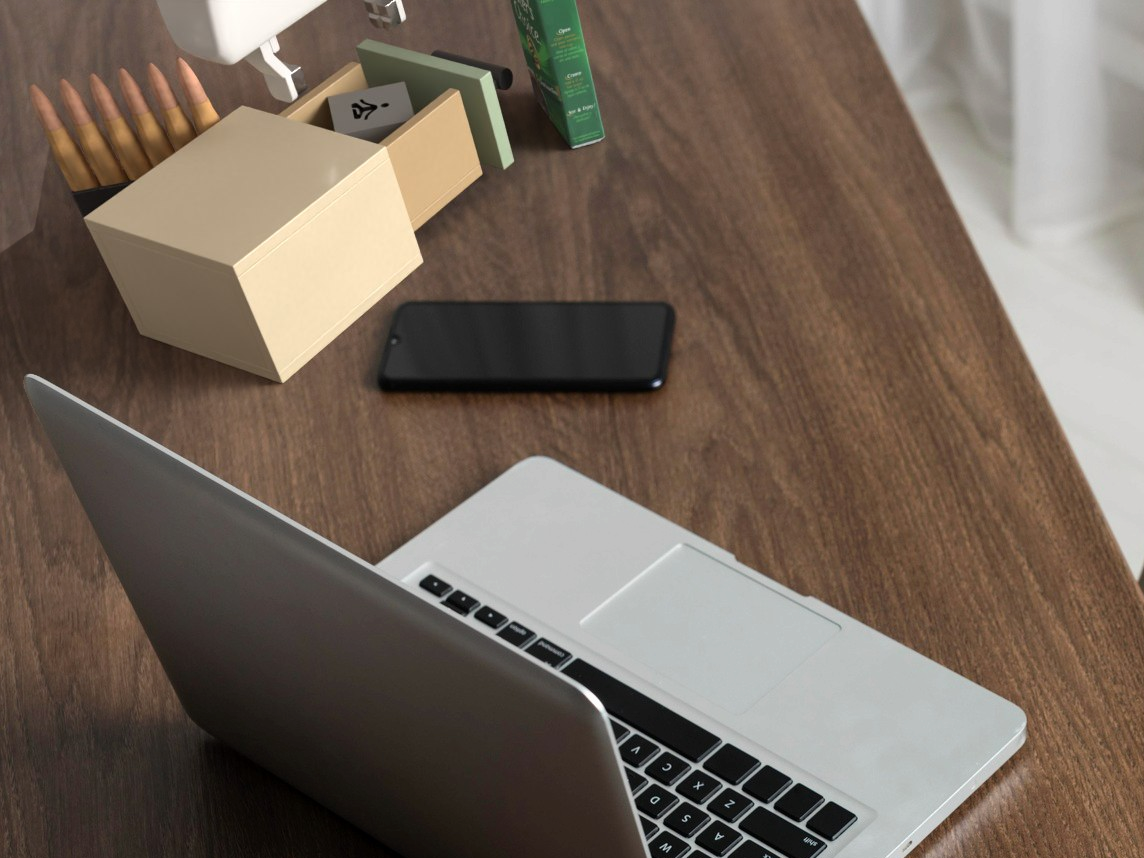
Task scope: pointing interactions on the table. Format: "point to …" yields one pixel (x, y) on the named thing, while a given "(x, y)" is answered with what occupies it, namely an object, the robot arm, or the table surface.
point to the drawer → (426, 119)
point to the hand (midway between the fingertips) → (341, 59)
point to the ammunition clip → (121, 132)
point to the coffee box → (559, 67)
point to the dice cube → (371, 111)
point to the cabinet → (258, 241)
